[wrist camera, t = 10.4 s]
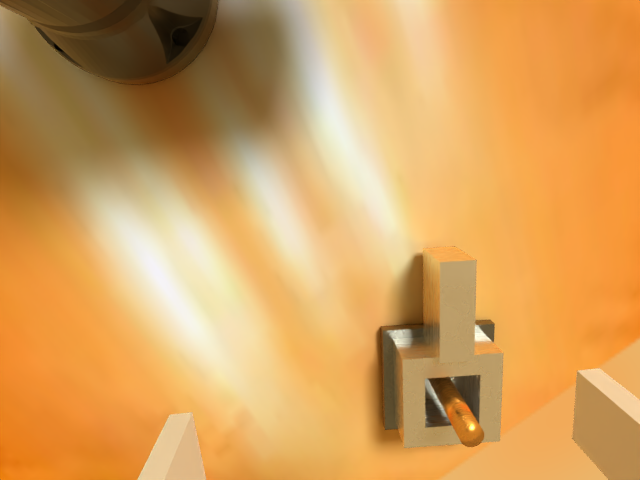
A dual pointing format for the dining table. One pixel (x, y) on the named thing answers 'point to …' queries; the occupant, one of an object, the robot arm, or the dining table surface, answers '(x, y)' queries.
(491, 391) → the square loop with stem
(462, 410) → the peg on square plate
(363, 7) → the dining table surface
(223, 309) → the dining table surface
